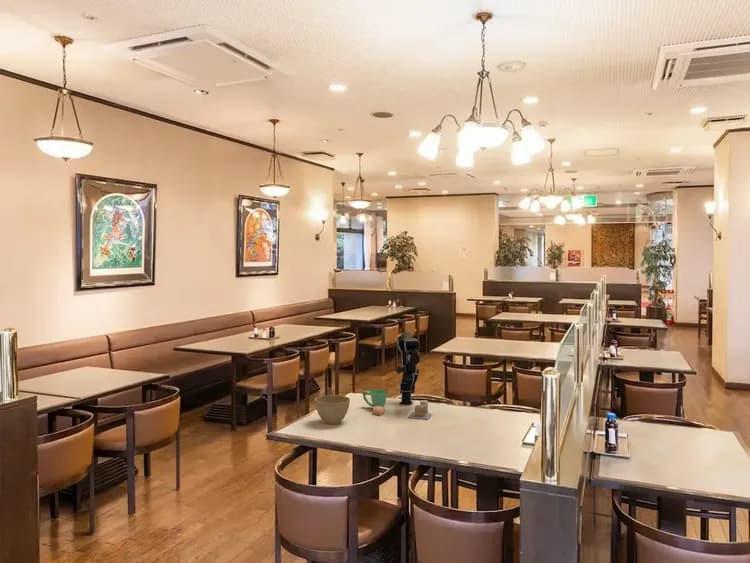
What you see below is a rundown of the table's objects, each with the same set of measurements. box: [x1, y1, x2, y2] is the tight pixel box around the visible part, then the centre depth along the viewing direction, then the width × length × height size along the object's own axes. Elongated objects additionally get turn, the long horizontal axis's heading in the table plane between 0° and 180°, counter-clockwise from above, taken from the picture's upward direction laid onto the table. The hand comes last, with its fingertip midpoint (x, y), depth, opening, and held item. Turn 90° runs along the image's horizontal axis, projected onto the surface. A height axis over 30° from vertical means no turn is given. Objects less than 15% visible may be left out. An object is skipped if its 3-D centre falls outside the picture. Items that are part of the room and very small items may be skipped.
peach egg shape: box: [372, 406, 385, 416], centre depth 312 cm, size 6×6×4 cm
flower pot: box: [314, 394, 351, 425], centre depth 295 cm, size 18×18×12 cm
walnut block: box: [414, 404, 426, 417], centre depth 307 cm, size 5×5×5 cm
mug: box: [362, 389, 388, 408], centre depth 323 cm, size 15×10×10 cm
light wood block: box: [419, 399, 429, 413], centre depth 317 cm, size 4×4×6 cm
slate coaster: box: [407, 411, 433, 421], centre depth 307 cm, size 11×11×1 cm
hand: (411, 388), depth 321 cm, fingers open, 9 cm apart
